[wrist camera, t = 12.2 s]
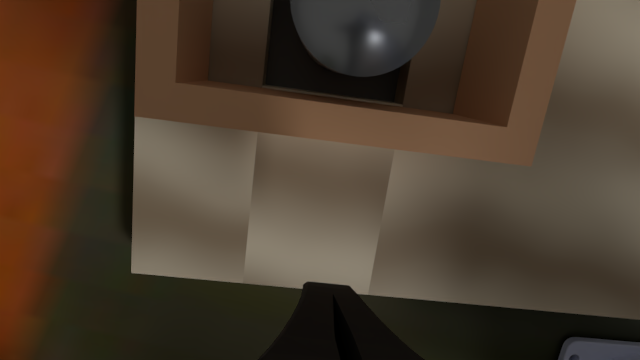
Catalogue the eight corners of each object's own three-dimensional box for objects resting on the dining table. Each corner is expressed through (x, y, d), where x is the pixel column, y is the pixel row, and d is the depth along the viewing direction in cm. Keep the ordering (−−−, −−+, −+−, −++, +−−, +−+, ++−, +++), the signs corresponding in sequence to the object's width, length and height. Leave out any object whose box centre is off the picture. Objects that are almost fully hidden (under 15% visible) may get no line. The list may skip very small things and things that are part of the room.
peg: (385, 77, 16) (426, 83, 10) (294, 67, 16) (284, 68, 10) (399, -22, 15) (454, -78, 9) (302, -34, 15) (296, -97, 9)
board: (612, 300, 20) (639, 319, 18) (145, 255, 18) (131, 273, 16) (740, -66, 16) (789, -82, 14) (159, -178, 14) (142, -209, 12)
